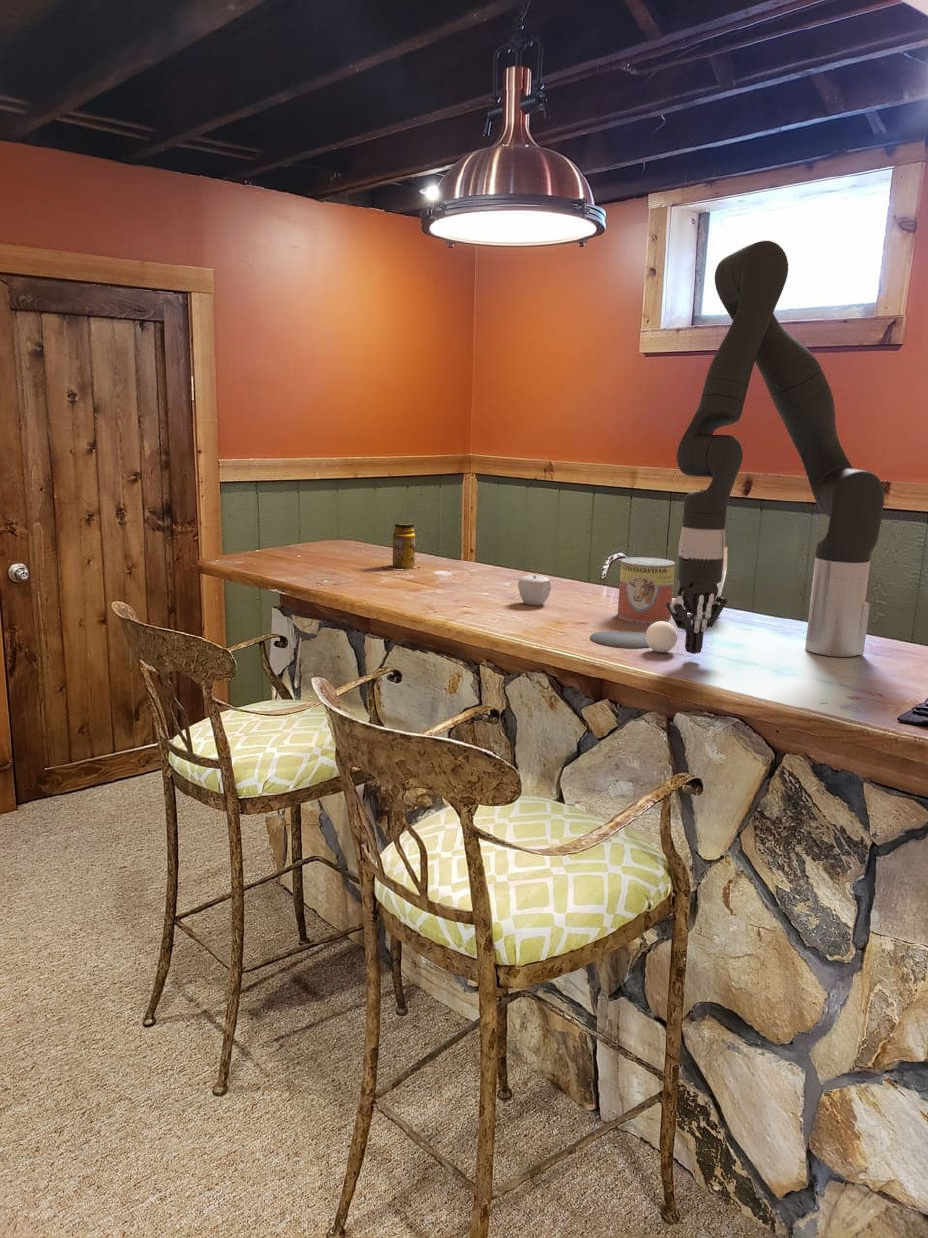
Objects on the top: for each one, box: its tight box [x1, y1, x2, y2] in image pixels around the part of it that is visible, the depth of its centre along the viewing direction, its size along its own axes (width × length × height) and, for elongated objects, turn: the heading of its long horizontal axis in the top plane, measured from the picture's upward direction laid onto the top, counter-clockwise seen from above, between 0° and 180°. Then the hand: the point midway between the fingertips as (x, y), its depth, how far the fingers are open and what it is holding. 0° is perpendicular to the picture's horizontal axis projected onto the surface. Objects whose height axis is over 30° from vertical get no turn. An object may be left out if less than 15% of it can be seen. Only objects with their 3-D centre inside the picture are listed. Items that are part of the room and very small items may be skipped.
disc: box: [589, 630, 650, 649], centre depth 173 cm, size 13×13×1 cm
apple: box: [517, 574, 552, 606], centre depth 204 cm, size 8×8×7 cm
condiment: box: [380, 522, 416, 571], centre depth 247 cm, size 7×8×12 cm
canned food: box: [616, 556, 676, 623], centre depth 193 cm, size 11×11×12 cm
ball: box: [645, 621, 678, 653], centre depth 164 cm, size 6×6×6 cm
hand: (693, 652), depth 159 cm, fingers closed
